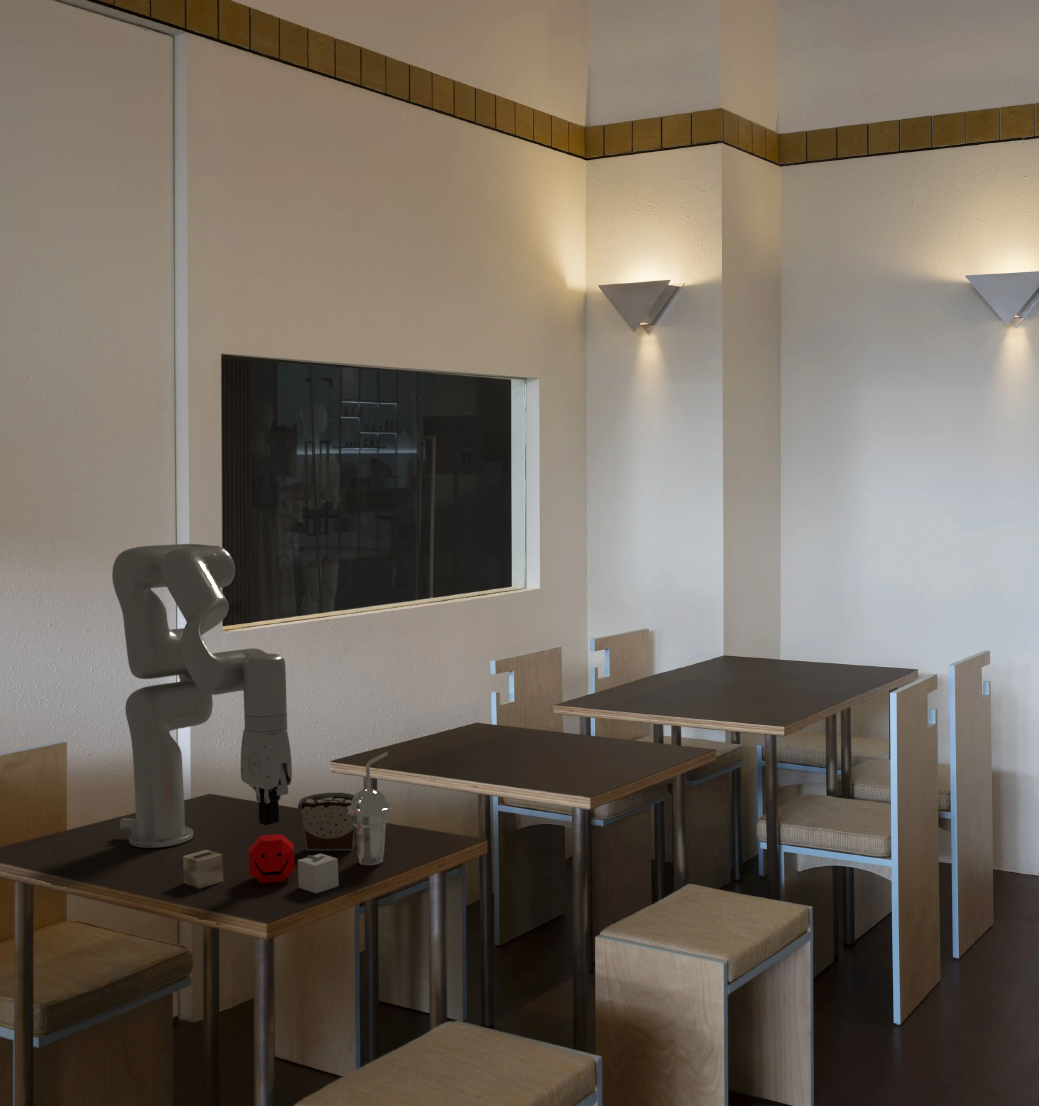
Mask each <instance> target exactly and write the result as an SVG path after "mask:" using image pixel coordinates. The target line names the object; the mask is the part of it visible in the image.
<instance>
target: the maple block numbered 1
mask: <svg viewBox="0 0 1039 1106" xmlns="http://www.w3.org/2000/svg"><path fill="white" fill-rule="evenodd" d="M182 861H183V862H182V865H183V883H184V884H186V885H189V886H192V887H194V888H197V889H203V888H206V887H209V886H212V885H216V884H219V883H223V882H224V870H223V869H224V867H223V866H224V864H223V854H221V853H218V852H215V851H212V850H210V849H204V850H200V851H197V852H193V853H190V854H186V855H183V856H182Z"/></svg>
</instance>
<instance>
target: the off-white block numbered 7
mask: <svg viewBox="0 0 1039 1106" xmlns="http://www.w3.org/2000/svg"><path fill="white" fill-rule="evenodd" d="M297 875H298V876H297V877H298V888H299V889H302V890H305V891H308V892H311V893H314V894H319V893H321V892H322V893H323V892H325V891H327V890H331V889H334V888H337V887H339V886H340V885H339V883H340V881H339V859H338V858H336V857H333V856H330V855H327V854H324V853H318V854H315V855H314V854H313V855H307V856H306V857H305V858H304V857H303V858H300V859H297Z"/></svg>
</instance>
